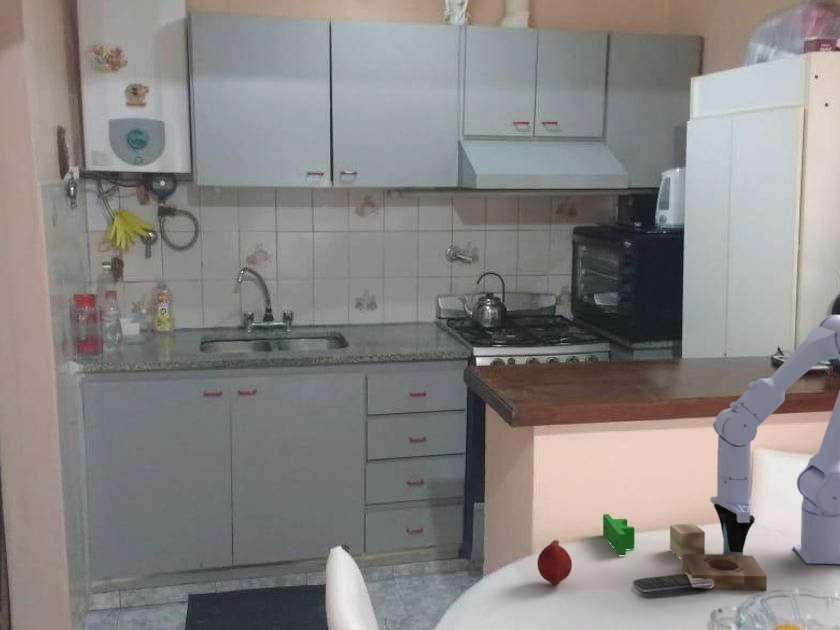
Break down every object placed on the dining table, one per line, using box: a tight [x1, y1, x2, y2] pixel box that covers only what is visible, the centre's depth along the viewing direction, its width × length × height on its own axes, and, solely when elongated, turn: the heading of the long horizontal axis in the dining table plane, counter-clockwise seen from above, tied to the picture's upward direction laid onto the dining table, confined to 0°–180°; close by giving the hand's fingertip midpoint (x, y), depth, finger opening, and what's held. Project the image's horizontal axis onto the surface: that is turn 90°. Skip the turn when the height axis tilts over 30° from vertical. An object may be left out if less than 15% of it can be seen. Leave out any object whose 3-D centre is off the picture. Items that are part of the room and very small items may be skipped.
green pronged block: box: [602, 513, 635, 555], centre depth 164 cm, size 11×4×5 cm, turn 4°
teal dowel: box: [722, 525, 744, 555], centre depth 157 cm, size 3×3×6 cm
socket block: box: [682, 554, 768, 592], centre depth 148 cm, size 12×9×2 cm
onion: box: [536, 539, 573, 586], centre depth 147 cm, size 6×6×8 cm
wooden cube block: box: [669, 522, 706, 559], centre depth 159 cm, size 5×5×5 cm
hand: (733, 547), depth 157 cm, fingers closed on teal dowel, 3 cm apart
